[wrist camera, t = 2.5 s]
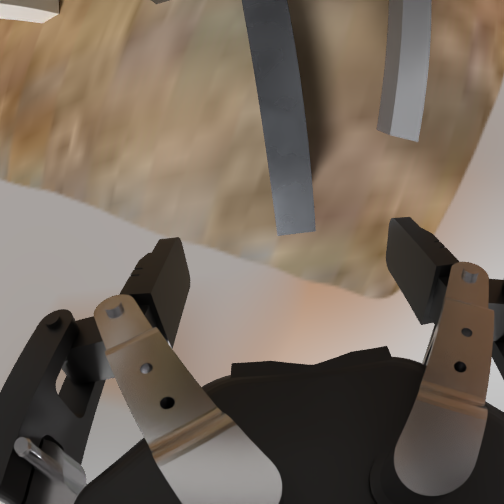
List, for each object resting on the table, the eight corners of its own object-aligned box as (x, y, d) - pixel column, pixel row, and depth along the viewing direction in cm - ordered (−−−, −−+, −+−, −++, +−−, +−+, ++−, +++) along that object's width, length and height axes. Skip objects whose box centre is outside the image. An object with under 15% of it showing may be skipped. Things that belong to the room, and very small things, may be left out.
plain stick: (411, -62, 12) (426, -73, 9) (401, 135, 21) (417, 142, 19) (386, -71, 12) (399, -84, 9) (375, 129, 21) (389, 135, 19)
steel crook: (266, -42, 14) (269, -77, 9) (303, 198, 24) (315, 231, 19) (153, -20, 15) (123, -45, 10) (196, 212, 25) (180, 248, 20)
